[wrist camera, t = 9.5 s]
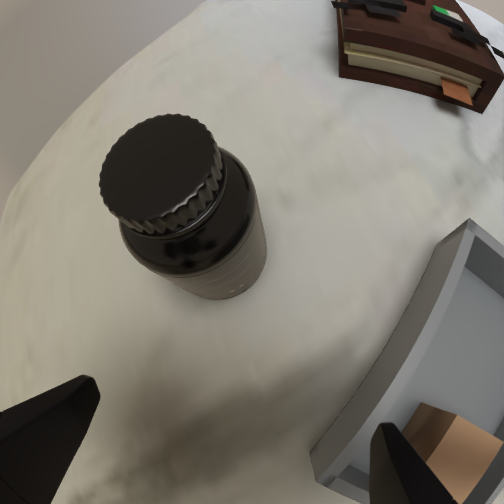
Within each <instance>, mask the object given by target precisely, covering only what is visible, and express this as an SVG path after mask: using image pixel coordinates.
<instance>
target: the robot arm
mask: <svg viewBox="0 0 504 504" xmlns="http://www.w3.org/2000/svg"><path fill="white" fill-rule="evenodd" d="M99 401H100V392H99V390H98V387H97V384H96V382H95V379H94V378H93V377H90V376H87V375H80V376H78V377H76V378H74V379H72V380H70V381H68V382H65V383H63V384H61V385H59V386H57V387H55V388H53V389H50V390H48V391H46V392H44V393H42V394H40V395H37V396H35V397H33V398H31V399H29V400H26V401H24V402H22V403H20V404H17V405H15V406H13V407H11V408H8V409H6V410H4V411H3V412H0V504H51V502H52V500H53V498H54V496H55V494H56V492H57V490H58V488H59V486H60V484H61V482H62V480H63V478H64V476H65V474H66V472H67V470H68V468H69V466H70V464H71V462H72V460H73V458H74V456H75V454H76V452H77V450H78V448H79V447H80V445H81V443H82V441H83V439H84V437H85V435H86V433H87V431H88V428H89V426H90V423H91V421H92V418H93V416H94V413H95V411H96V408H97V406H98V404H99ZM369 498H370V504H458V502H457V501H456V500H455V499H453V496H452V495H451V494H450V493H449V491H448V490H447V489H446V488H445V486H444V485H443V484H442V483H441V481H440V480H439V479H438V478H437V476H436V475H435V474H434V473H433V471H432V470H431V469H430V468H429V466H428V465H427V464H426V463H425V461H424V460H423V459H422V458H421V456H420V455H419V454H418V453H417V451H416V450H415V449H414V448H413V446H412V445H411V444H410V443H409V441H408V440H407V439H406V438H405V436H404V435H403V434H402V433H401V431H400V430H399V429H398V428H397V426H396V425H395V424H394V423H393V422H381V423H379V425H378V426H377V428H376V430H375V432H374V434H373V436H372V438H371V442H370V470H369Z"/></svg>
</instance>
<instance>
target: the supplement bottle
mask: <svg viewBox="0 0 504 504" xmlns="http://www.w3.org/2000/svg"><path fill="white" fill-rule="evenodd" d="M99 187H100V188H101V190H100V195H101V196H102V197H103V201H104V204H105V205H106V206H107V207H108V208H109V211H110V212H111V213H112V214H113V215H114V216H115V217H117V218H118V219H119V227H120V232H121V236H122V239H123V241H124V243H125V245H126V247H127V249H128V250H129V252H130V253H131V254H132V256H133V257H134V258H135V259H136V260H137V261H138V262H139V263H141V264H142V265H143V266H145V267H146V268H148V269H149V270H151V271H153V272H154V273H156V274H158V275H160V276H162V277H163V278H165V279H167V280H169V281H171V282H173V283H174V284H176V285H178V286H180V287H182V288H184V289H186V290H187V291H189V292H191V293H193V294H196V295H198V296H200V297H204V298H209V299H224V298H229V297H232V296H235V295H237V294H239V293H241V292H243V291H244V290H246V289H247V288H248V287H249V286H251V285H252V284H253V282H254V281H255V280H256V279H257V278H258V276H259V274H260V273H261V271H262V269H263V266H264V263H265V259H266V239H265V233H264V229H263V224H262V219H261V214H260V209H259V205H258V200H257V195H256V191H255V187H254V184H253V181H252V179H251V176H250V174H249V172H248V171H247V169H246V168H245V166H244V165H243V164H242V163H241V161H240V160H239V159H238V158H236V157H235V156H234V155H233V154H231V153H230V152H228V151H227V150H225V149H223V148H221V147H218V146H217V143H216V142H215V140H214V137H213V135H212V133H211V132H210V131H209V130H207V127H206V126H205V125H204V124H202V123H200V122H199V121H198V120H197V119H193V118H191V117H190V116H182V115H181V114H174V115H172V114H166V115H163V116H161V115H158V116H156V117H154V118H149V119H146V120H145V121H143V122H141V123H138V124H137V125H135V126H134V127H133V128H131V129H129V130H128V131H127V132H126V133H125V134H124V135H123V136H121V137H120V138H119V139H118V141H117V142H116V143H115V144H114V145H113V146H112V148H111V150H110V152H109V153H108V154H107V155H106V160H105V161H104V163H103V164H102V170H101V172H100V182H99Z"/></svg>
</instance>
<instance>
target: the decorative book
mask: <svg viewBox="0 0 504 504" xmlns="http://www.w3.org/2000/svg"><path fill="white" fill-rule="evenodd" d="M331 2H332V5H333V7H334V8H337V23H338V48H339V77H341V78H347V79H353V80H359V81H365V82H370V83H375V84H380V85H385V86H390V87H394V88H398V89H403V90H407V91H411V92H415V93H418V94H422V95H426V96H429V97H433V98H436V99H439V100H443V101H446V102H449V103H452V104H455V105H458V106H461V107H464V108H467V109H470V110H472V111H475V112H478V113H481V114H483V112H484V110H485V109H486V107H487V106H488V104H489V103H490V101H491V99H492V98H493V96H494V95H495V93H496V91H497V90H498V88H499V86H500V85H501V83H502V81H503V80H504V73H503V72H502V70H501V68H500V66H499V64H498V63H497V61H496V59H495V57H494V56H493V54H492V52H491V51H490V49H489V47H488V46H487V44H489V45H490V43H489V41H488V39H487V38H485V37H484V36H482V35H480V33H479V32H478V30H477V29H476V28H475V26H474V25H473V23H472V22H471V20H470V19H469V18H468V16H467V15H466V14H465V12H464V11H463V10H462V8H461V7H460V6H459V4H458V3H457V2H456V1H455V0H336V1H331ZM486 43H487V44H486ZM491 47H492V46H491ZM492 49H493V51H494V53H495V54H496V55H498V56H500V57H502V58H504V53H503V52H502V51H500V50H498V49H496V48H494V47H492Z"/></svg>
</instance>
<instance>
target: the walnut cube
mask: <svg viewBox="0 0 504 504" xmlns="http://www.w3.org/2000/svg"><path fill="white" fill-rule="evenodd" d="M401 433H402V434H403V435H404V436H405V438H406V439H407V440H408V441H409V443H410V444H411V445H412V446H413V448H414V449H415V450H416V451H417V453H418V454H419V455H420V456H421V458H422V459H423V460H424V461H425V463H426V464H427V465H428V466H429V468H430V469H431V470H432V471H433V473H434V474H435V475H436V476H437V478H438V479H439V480H440V481H441V483H442V484H443V485H444V486H445V488H446V489H447V490H448V491H449V493H450V494H451V495H452V496H453V499H455V500H456V501H457V502H458V504H462V503H463V502H464V501H465V499H466V498H467V497H468V495H469V494H470V493H471V491H472V490H473V489H474V487H475V486H476V485H477V483H478V482H479V480H480V479H481V478H482V476H483V475H484V473H485V472H486V470H487V469H488V467H489V466H490V464H491V462H492V461H493V459H494V458H495V456H496V454H497V453H498V451H499V449H500V448H501V446H502V444H503V443H504V442H503V441H501V440H500V439H498V438H496V437H494V436H493V435H491V434H489V433H487V432H486V431H484V430H482V429H481V428H479V427H477V426H475V425H474V424H472V423H470V422H469V421H467V420H465V419H464V418H462V417H460V416H459V415H456V414H454V413H451V412H448V411H445V410H442V409H439V408H436V407H433V406H431V405H428V404H425V403H422V402H421V403H420V405H419V406H418V408H417V409H416V411H415V412H414V414H413V416H412V417H411V419H410V420H409V422H408V423H407V425H406V426H405V427H404V429H403V430H402V432H401Z"/></svg>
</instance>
